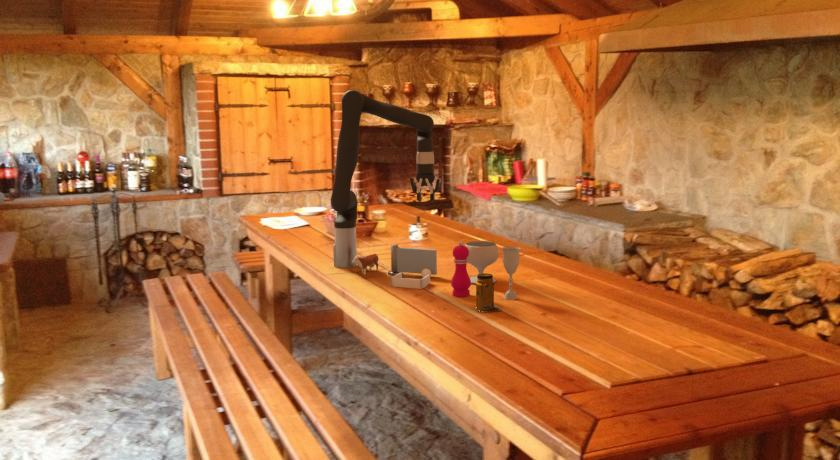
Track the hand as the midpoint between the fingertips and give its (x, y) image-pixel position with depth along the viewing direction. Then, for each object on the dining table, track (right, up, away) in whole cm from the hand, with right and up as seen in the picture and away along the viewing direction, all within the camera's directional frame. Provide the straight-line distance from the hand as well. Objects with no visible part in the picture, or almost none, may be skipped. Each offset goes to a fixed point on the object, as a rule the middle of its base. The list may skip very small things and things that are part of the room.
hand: (425, 201), depth 306 cm
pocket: (-6, -33, -30) cm, 45 cm away
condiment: (+20, -39, -64) cm, 78 cm away
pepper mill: (+12, -36, -46) cm, 60 cm away
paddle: (-5, -30, -15) cm, 34 cm away
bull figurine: (-25, -30, -10) cm, 40 cm away
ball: (0, -32, -21) cm, 38 cm away
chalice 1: (+21, -32, -26) cm, 47 cm away
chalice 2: (+30, -37, -51) cm, 69 cm away
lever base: (-13, -30, -12) cm, 35 cm away
